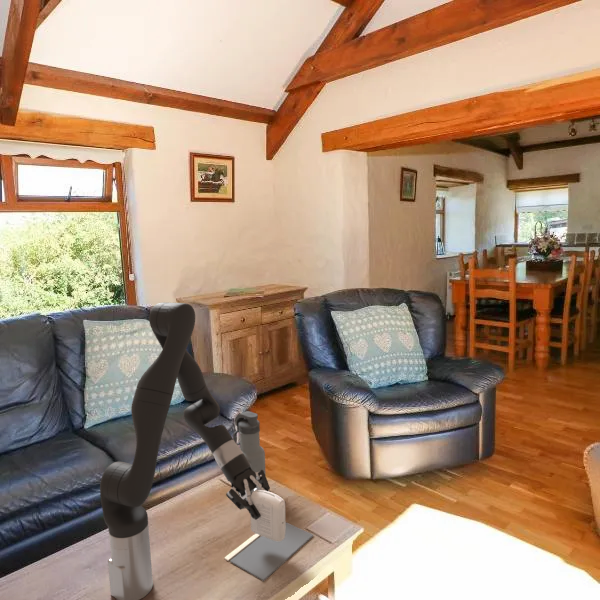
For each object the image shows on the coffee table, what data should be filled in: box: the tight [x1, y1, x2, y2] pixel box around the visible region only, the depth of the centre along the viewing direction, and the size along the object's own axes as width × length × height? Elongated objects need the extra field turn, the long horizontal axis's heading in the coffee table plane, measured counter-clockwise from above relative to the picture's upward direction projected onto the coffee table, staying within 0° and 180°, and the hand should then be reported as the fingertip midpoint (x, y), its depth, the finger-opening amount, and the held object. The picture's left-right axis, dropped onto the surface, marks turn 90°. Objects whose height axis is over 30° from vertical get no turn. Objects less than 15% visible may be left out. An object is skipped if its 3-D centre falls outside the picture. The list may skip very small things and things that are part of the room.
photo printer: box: [250, 490, 286, 541], centre depth 131 cm, size 10×4×12 cm, turn 60°
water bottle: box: [232, 410, 267, 496], centre depth 161 cm, size 10×10×28 cm
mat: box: [224, 521, 314, 582], centre depth 135 cm, size 22×14×1 cm, turn 143°
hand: (264, 513), depth 132 cm, fingers closed on photo printer, 4 cm apart
